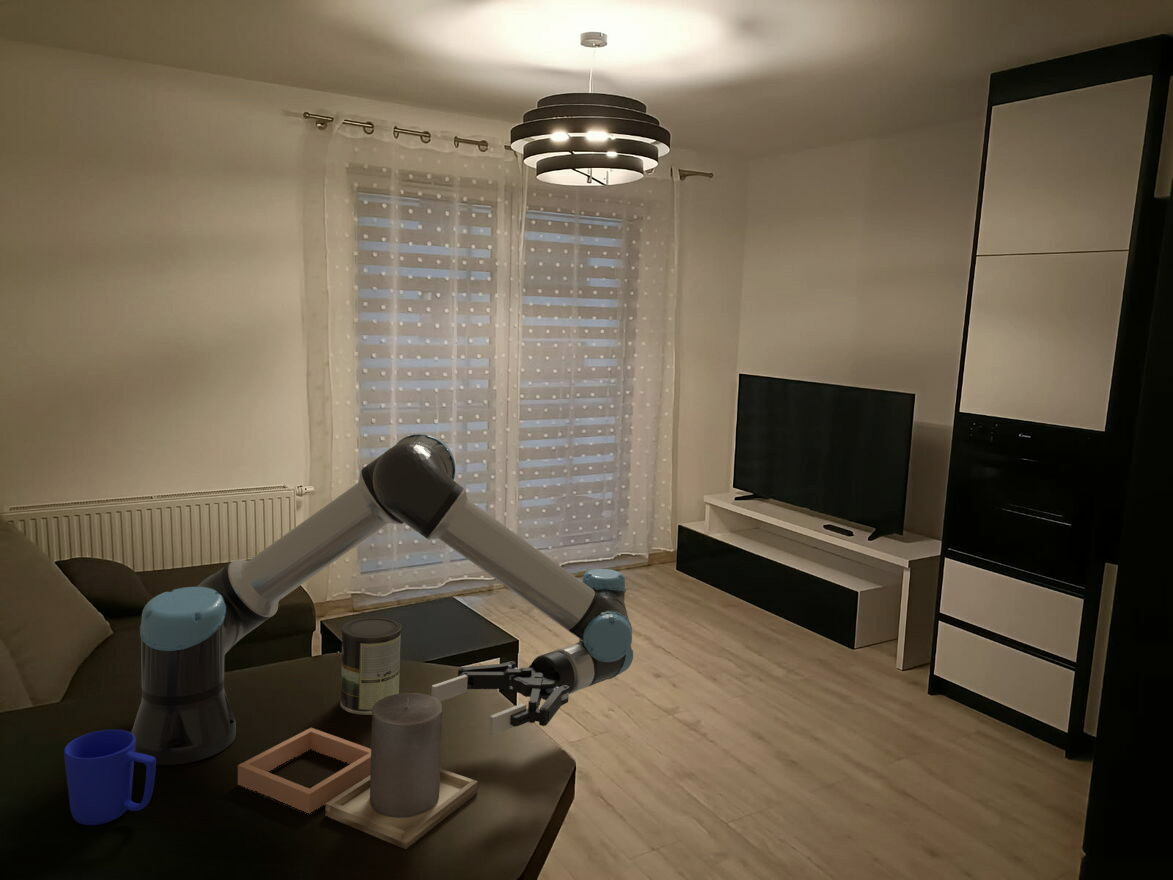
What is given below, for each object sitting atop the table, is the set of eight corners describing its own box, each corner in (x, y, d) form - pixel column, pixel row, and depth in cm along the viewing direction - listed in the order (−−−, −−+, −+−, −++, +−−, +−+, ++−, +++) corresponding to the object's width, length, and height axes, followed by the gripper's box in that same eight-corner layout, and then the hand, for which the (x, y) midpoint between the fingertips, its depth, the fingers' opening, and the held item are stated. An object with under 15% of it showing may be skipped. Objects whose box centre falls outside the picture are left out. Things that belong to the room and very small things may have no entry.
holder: (237, 784, 120) (237, 765, 120) (310, 745, 133) (311, 727, 132) (308, 814, 114) (309, 794, 114) (378, 770, 126) (379, 751, 126)
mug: (130, 842, 106) (130, 768, 105) (50, 826, 108) (48, 753, 107) (174, 807, 114) (174, 738, 113) (98, 793, 116) (97, 725, 115)
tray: (325, 815, 114) (325, 803, 114) (401, 765, 128) (402, 754, 128) (405, 849, 108) (406, 836, 107) (477, 793, 122) (477, 781, 122)
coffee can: (329, 711, 145) (331, 633, 143) (354, 687, 155) (356, 614, 153) (386, 718, 143) (389, 639, 142) (407, 693, 153) (410, 620, 152)
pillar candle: (380, 778, 123) (382, 681, 121) (446, 782, 123) (449, 685, 121) (360, 816, 113) (362, 712, 111) (432, 821, 113) (435, 716, 111)
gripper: (615, 720, 131) (516, 765, 116) (509, 671, 148) (410, 705, 132) (618, 674, 131) (519, 714, 115) (511, 630, 147) (411, 660, 132)
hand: (460, 709), depth 124 cm, fingers open, 13 cm apart
